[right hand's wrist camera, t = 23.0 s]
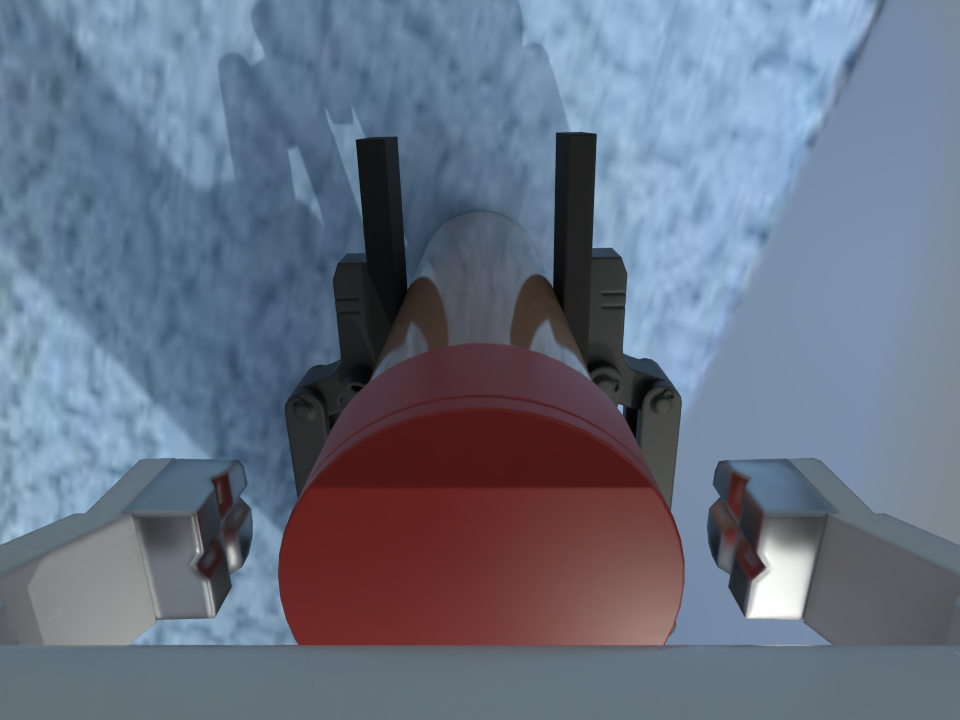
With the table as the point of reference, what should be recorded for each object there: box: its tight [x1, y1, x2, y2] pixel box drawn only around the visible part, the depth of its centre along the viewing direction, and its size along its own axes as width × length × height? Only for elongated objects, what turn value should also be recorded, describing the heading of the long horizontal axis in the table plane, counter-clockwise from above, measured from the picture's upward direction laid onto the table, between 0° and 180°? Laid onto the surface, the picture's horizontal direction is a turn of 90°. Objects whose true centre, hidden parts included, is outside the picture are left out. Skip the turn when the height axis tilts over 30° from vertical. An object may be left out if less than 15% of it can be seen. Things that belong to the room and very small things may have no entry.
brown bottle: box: [368, 211, 594, 383], centre depth 17 cm, size 5×5×18 cm
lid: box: [278, 344, 684, 645], centre depth 9 cm, size 5×5×2 cm
